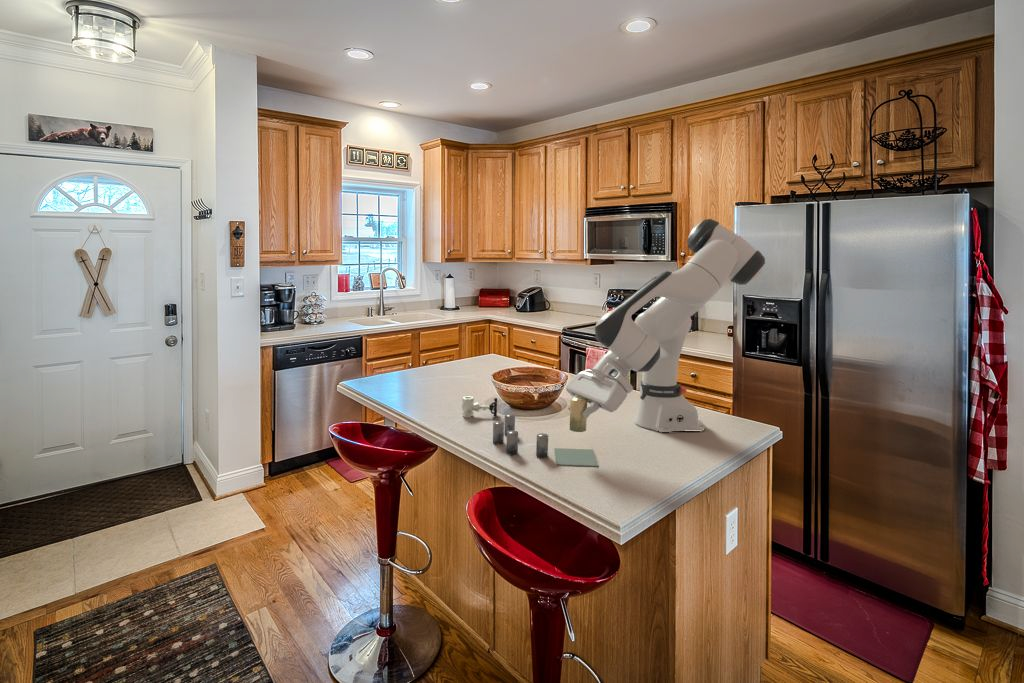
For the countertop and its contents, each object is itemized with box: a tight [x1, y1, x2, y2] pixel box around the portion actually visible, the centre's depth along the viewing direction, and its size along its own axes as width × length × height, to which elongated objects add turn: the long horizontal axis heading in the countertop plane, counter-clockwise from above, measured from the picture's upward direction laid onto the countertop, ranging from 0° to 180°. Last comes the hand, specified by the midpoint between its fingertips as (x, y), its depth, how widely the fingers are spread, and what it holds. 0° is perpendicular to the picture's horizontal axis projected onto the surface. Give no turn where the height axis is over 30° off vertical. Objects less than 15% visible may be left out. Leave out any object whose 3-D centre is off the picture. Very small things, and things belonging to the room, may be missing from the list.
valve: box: [461, 396, 498, 418], centre depth 183 cm, size 7×7×12 cm
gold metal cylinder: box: [569, 396, 588, 433], centre depth 145 cm, size 4×4×8 cm
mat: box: [553, 447, 599, 468], centre depth 148 cm, size 11×12×1 cm
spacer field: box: [492, 413, 549, 459], centre depth 155 cm, size 10×23×6 cm, turn 27°
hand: (576, 413), depth 145 cm, fingers closed on gold metal cylinder, 4 cm apart
